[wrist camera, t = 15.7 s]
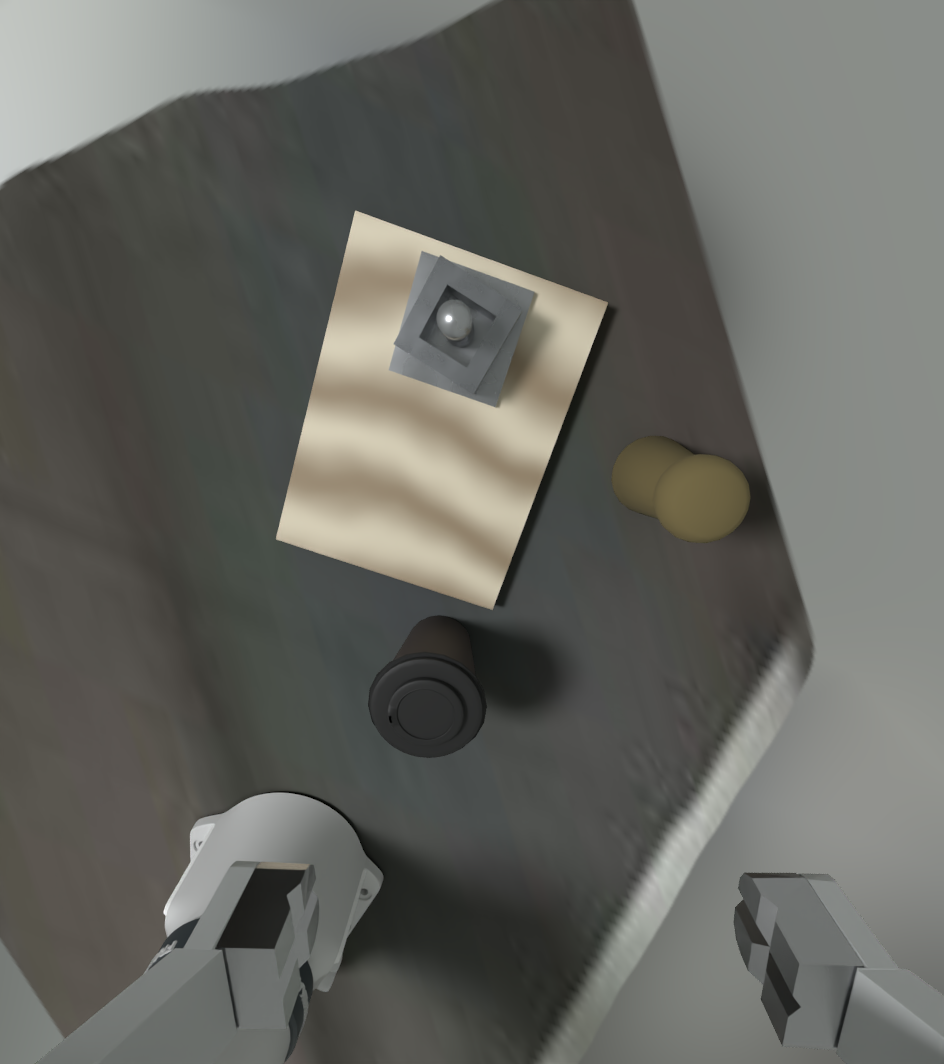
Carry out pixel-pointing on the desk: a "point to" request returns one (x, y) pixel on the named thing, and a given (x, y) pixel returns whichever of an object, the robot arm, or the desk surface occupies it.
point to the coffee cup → (429, 692)
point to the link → (477, 296)
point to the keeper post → (462, 334)
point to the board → (428, 428)
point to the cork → (681, 489)
